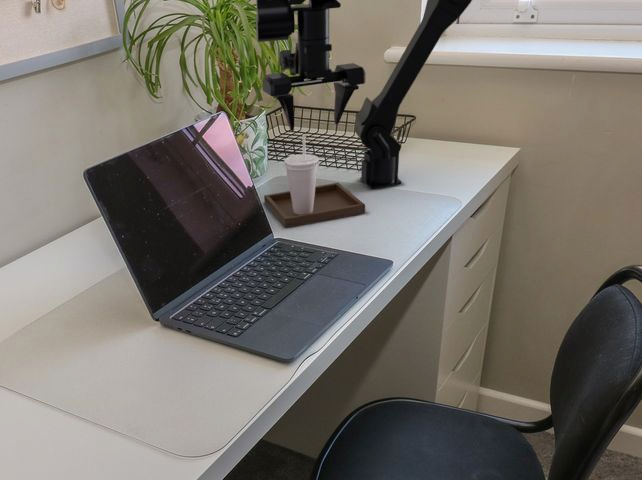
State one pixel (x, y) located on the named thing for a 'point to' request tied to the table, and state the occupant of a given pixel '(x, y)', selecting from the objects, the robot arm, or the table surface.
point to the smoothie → (302, 179)
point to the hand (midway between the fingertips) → (314, 127)
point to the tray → (316, 205)
